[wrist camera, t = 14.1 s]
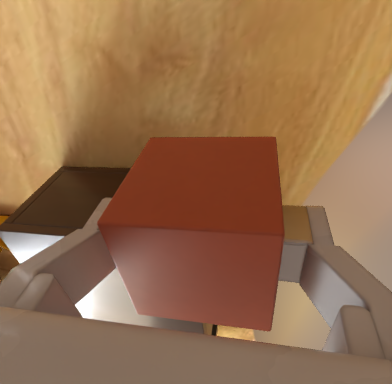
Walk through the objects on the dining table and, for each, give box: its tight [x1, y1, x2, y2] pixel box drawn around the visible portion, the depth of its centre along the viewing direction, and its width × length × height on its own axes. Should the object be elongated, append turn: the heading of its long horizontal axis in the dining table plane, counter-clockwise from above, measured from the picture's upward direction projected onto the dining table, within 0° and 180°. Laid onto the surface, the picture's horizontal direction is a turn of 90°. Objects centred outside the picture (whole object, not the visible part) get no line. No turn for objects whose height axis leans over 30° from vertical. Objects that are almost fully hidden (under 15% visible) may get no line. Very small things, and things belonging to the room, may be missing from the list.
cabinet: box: [0, 167, 213, 335], centre depth 27 cm, size 16×15×9 cm
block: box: [97, 137, 285, 331], centre depth 9 cm, size 4×4×4 cm
